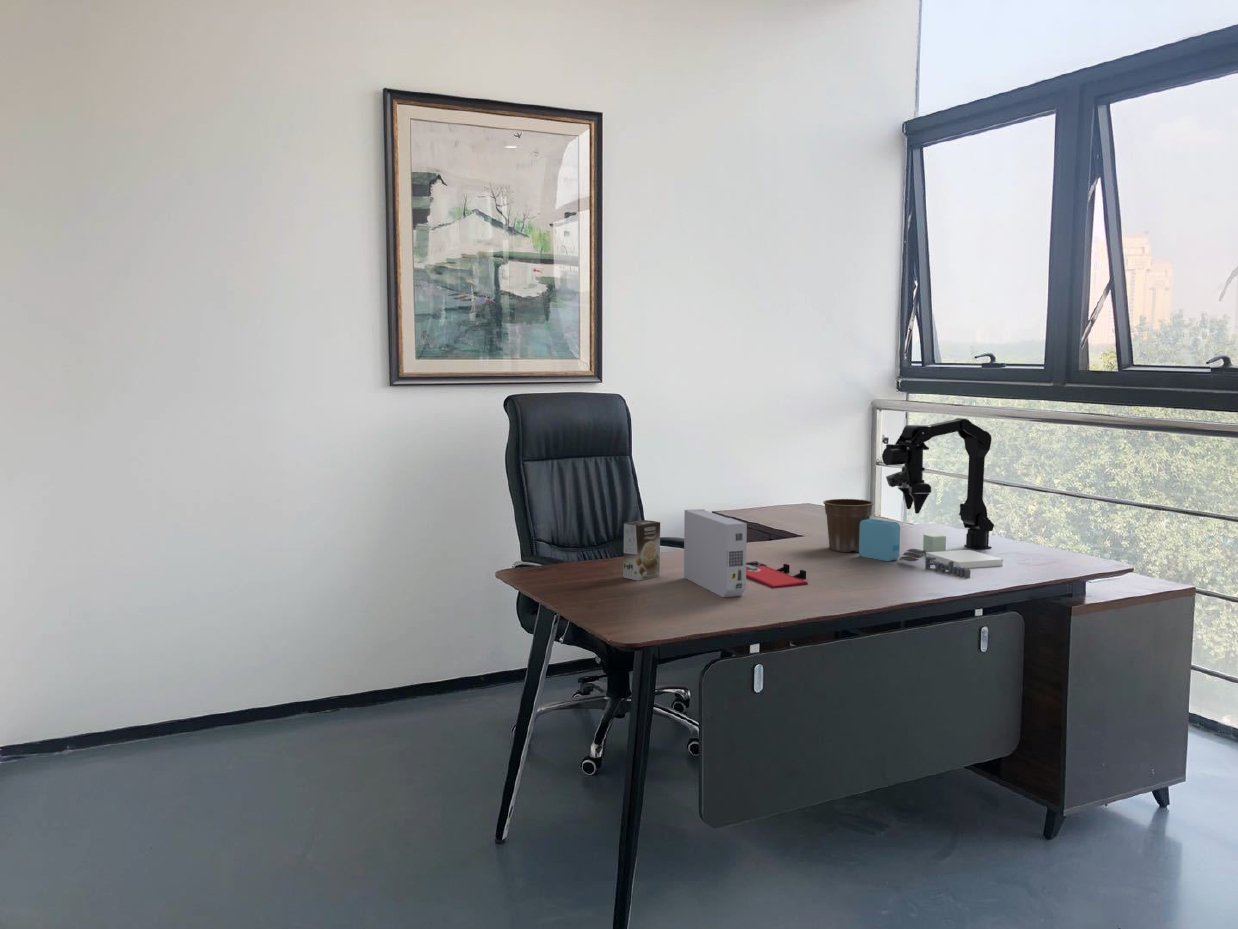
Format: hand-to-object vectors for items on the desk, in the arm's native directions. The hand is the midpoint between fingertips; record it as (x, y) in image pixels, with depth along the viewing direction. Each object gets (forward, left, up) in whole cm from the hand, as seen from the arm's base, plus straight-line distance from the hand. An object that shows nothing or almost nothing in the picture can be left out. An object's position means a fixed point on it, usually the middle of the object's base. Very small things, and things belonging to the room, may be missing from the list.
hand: (912, 511), depth 303 cm
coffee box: (+97, +9, -14) cm, 98 cm away
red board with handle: (+61, +17, -14) cm, 65 cm away
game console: (+82, +27, -14) cm, 87 cm away
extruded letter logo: (+10, +25, -14) cm, 31 cm away
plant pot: (+18, -11, -14) cm, 25 cm away
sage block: (-6, +3, -14) cm, 16 cm away
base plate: (-6, +18, -14) cm, 24 cm away
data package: (+16, +5, -14) cm, 22 cm away
